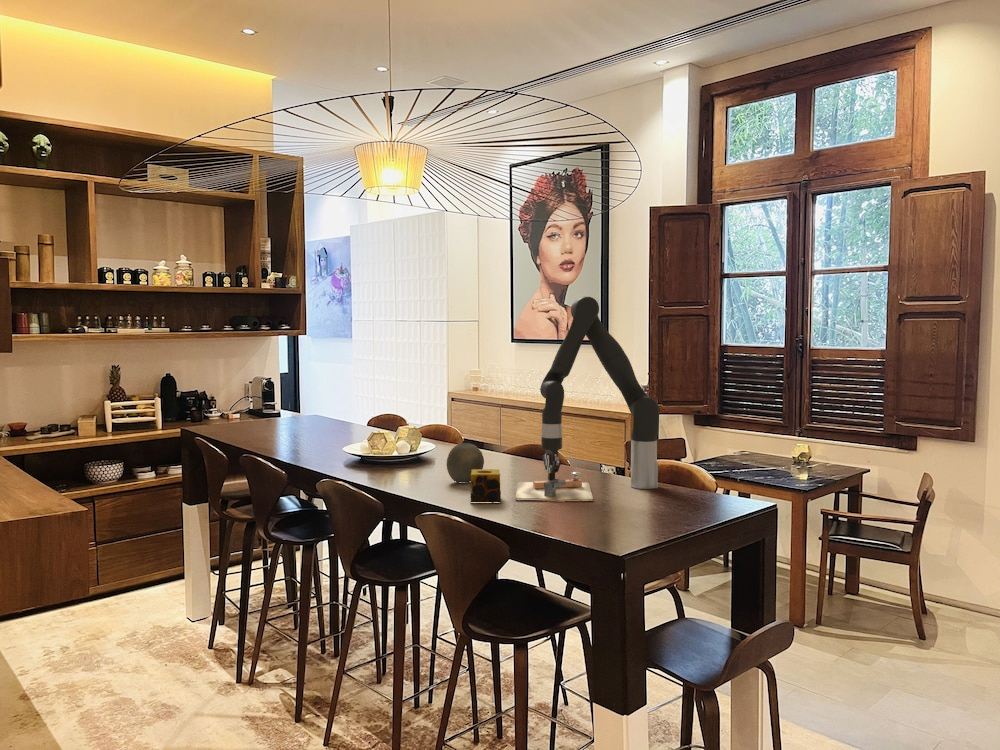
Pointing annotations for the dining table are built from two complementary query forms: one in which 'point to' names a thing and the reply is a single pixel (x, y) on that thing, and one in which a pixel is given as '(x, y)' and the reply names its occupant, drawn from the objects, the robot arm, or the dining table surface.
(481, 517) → the dining table surface
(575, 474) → the silver metal ball
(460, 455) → the dark grey ball
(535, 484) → the link
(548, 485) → the block
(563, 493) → the board
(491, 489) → the candle
